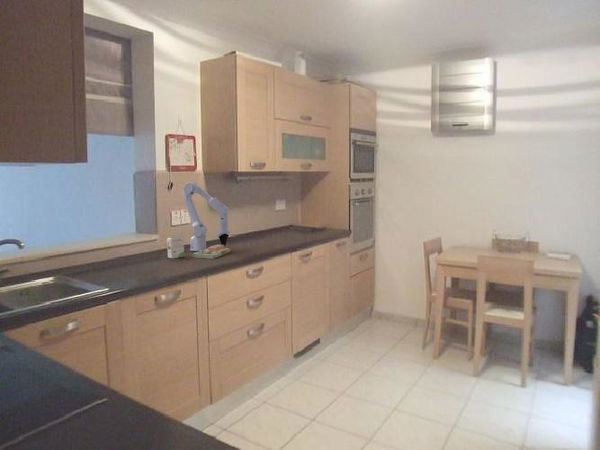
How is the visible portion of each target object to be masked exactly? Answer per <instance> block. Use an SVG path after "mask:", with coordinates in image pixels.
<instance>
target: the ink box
mask: <svg viewBox="0 0 600 450" xmlns="http://www.w3.org/2000/svg"><path fill="white" fill-rule="evenodd" d="M184 239H185V238H184V232H183V231H182V232H175V233H171V234H170V237H167V238H166V245H167V246H166V247H167V258H169V259H178V258H183V257H185V242H184V241H185V240H184Z"/></svg>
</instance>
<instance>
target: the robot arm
mask: <svg viewBox="0 0 600 450" xmlns="http://www.w3.org/2000/svg"><path fill="white" fill-rule="evenodd" d="M194 194H199V195H200V196H201V197H202V198H204V199H205V200H206V201H207V203H208V205H209V206H210V207H211V208H213V209H214V211H216V212H217V215H218V232H216V237H218V238H219V240H220V241H219V242H220V245H224V247H227V242H228V238H229V235H230V234H231V230H229V225H228V224H229V218H228V212H229V207H228V206H227V205H224V203H222V202H221V201H220V200H219V199H218V198H217V197H212V196H211V195H210V194H209V193H208V192H207V191H206V190H204V188H203V187H202V186H200V185H199V184H198V183H196V182H194V181H191V182H186V183H184V185H183V186H182V197H181V199H182V201H183V203H184V206H185V208H186V210H187V213H188V216H189V218H190V220H191V223H192V225H191V228H192V234H193V236H191V238H190V241H189V242H190V244H189V245H190V246H189V247H190V249H189V250H190V251H191V252H193V251H195V252H199V251H202V250H205V249H208V247H207V238H206V237H207V236H206V233H207V232H208V230H207V227H206V226H205V225H204V223H203V222H202V221H201V219H200V216H199V214H198V211H197V208H196V207H195V203H194V201H193V198H192V197H193V195H194Z"/></svg>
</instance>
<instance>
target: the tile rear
mask: <svg viewBox="0 0 600 450" xmlns="http://www.w3.org/2000/svg"><path fill="white" fill-rule="evenodd" d="M213 246H219V249H223V248H225V246H224V245H221V244H214V245H213Z"/></svg>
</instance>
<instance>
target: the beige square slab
mask: <svg viewBox="0 0 600 450" xmlns="http://www.w3.org/2000/svg"><path fill="white" fill-rule="evenodd" d="M202 252H203V254H216V253H219V252H221V256H223V255H226V254H227V255H228V254H229V253H231V248H230V247H229V248H228V247H224V248H223V249H219V250H217V251H208V249H205V250H202ZM221 256H220V257H221Z"/></svg>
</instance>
